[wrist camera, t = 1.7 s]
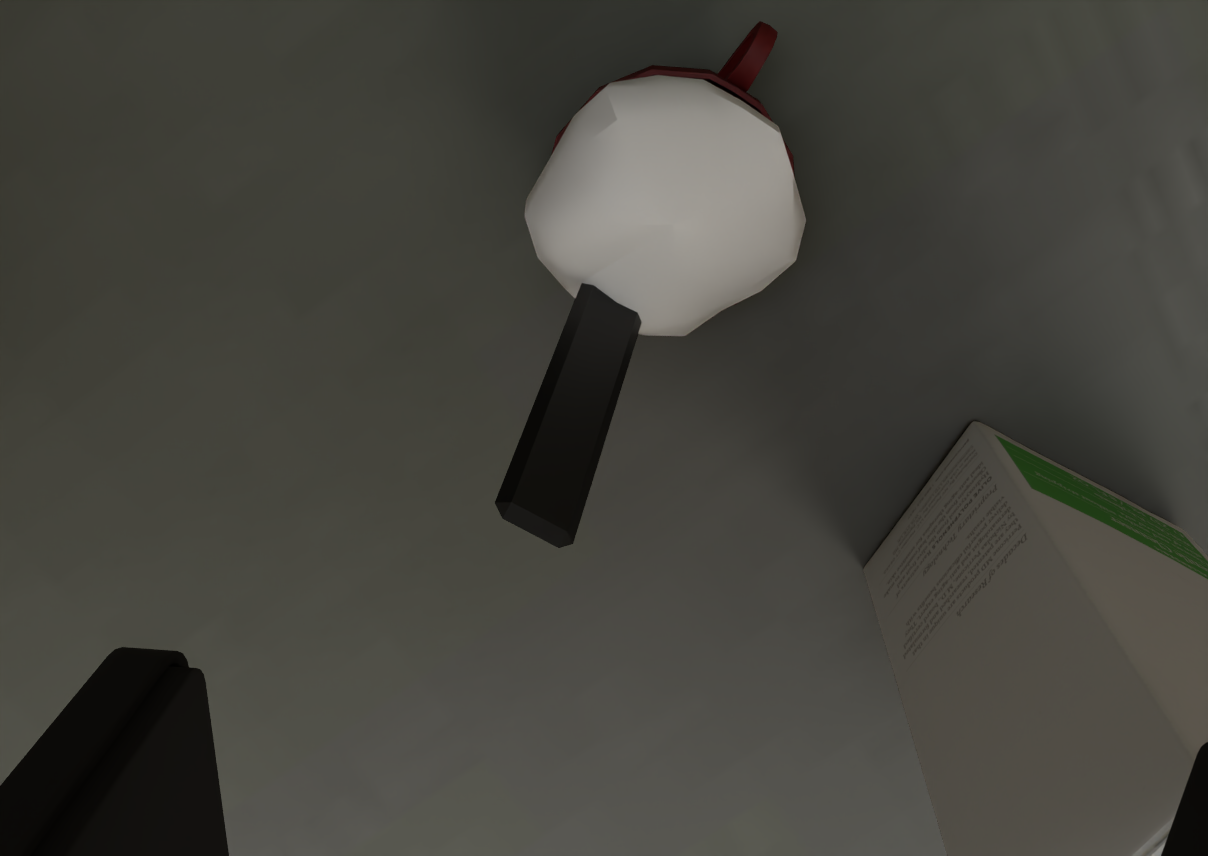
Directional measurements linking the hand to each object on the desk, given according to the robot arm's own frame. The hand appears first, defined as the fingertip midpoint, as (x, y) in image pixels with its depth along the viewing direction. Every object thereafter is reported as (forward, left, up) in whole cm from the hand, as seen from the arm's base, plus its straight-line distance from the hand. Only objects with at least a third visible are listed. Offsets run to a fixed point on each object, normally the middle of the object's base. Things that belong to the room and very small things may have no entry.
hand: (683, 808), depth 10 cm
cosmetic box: (+12, -9, -21) cm, 26 cm away
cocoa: (0, +2, -21) cm, 22 cm away
